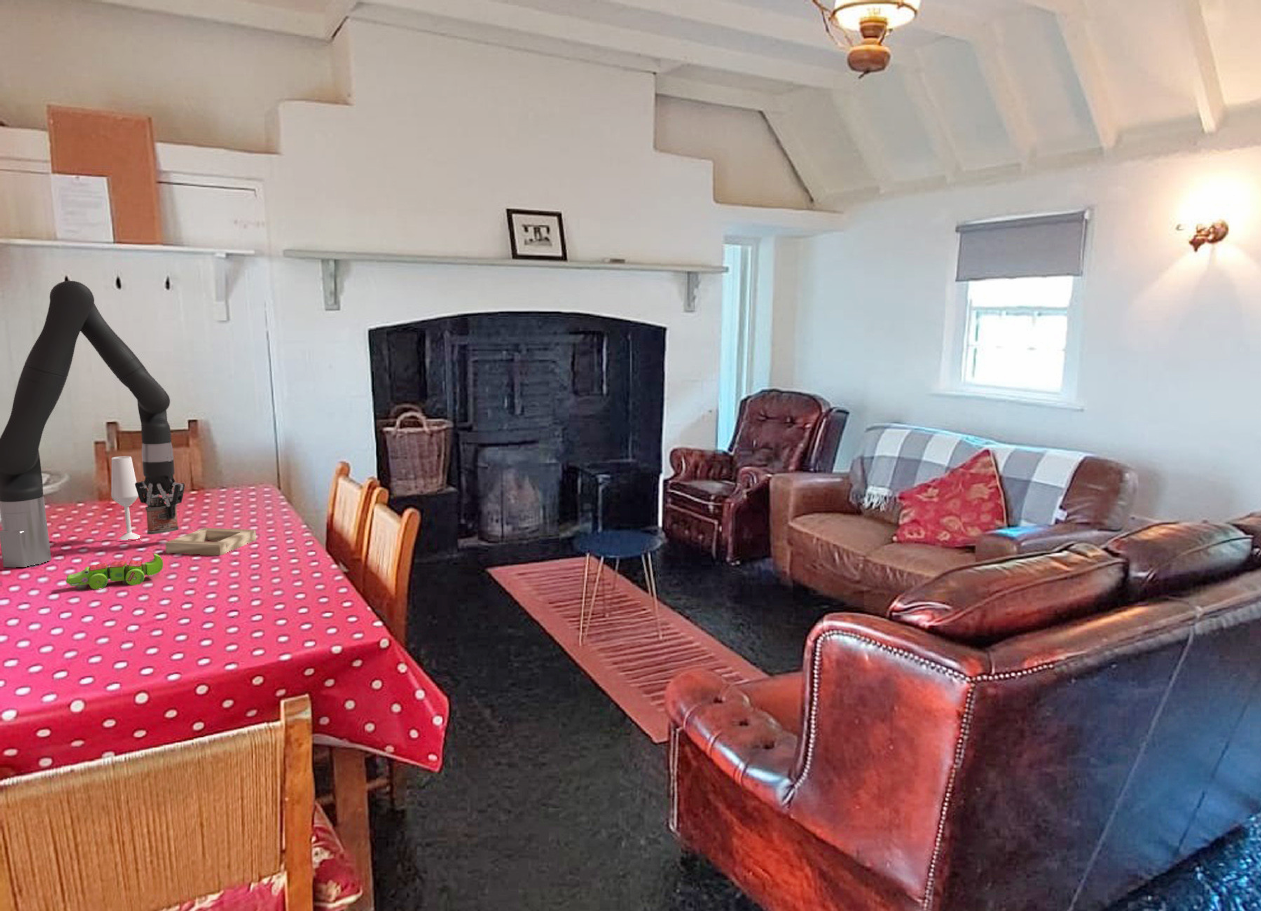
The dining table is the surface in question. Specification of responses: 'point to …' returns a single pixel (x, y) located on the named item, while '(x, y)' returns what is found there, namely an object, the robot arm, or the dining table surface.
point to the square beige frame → (225, 538)
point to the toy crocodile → (116, 573)
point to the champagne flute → (124, 489)
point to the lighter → (160, 517)
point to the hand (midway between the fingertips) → (162, 518)
